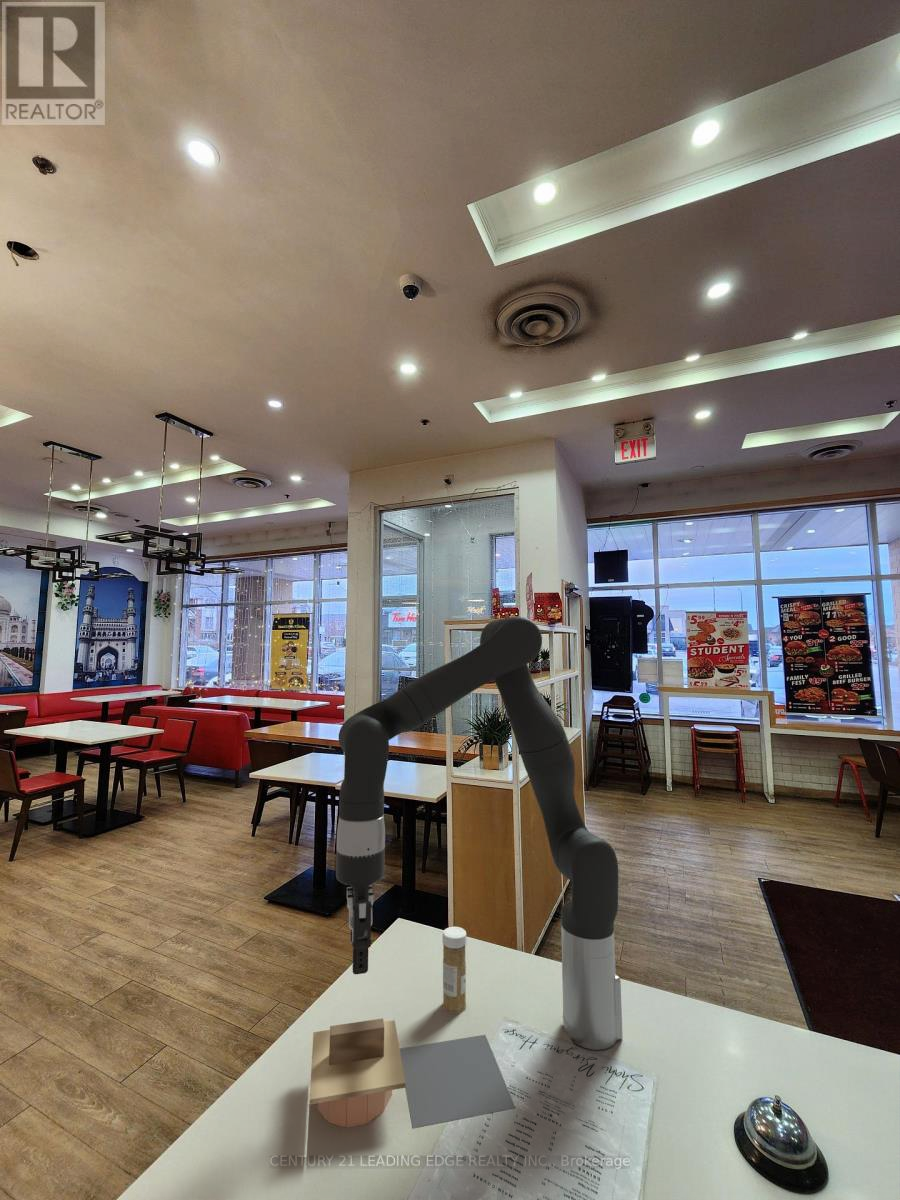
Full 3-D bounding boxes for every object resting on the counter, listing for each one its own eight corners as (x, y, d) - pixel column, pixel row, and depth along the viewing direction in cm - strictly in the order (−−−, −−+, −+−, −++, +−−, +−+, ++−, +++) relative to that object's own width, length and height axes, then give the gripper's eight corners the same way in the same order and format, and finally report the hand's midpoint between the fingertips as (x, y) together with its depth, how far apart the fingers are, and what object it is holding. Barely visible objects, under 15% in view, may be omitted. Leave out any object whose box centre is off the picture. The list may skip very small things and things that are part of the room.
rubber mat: (485, 1037, 88) (485, 1034, 88) (515, 1111, 73) (515, 1107, 73) (398, 1051, 85) (398, 1048, 85) (412, 1132, 70) (412, 1128, 70)
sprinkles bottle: (471, 1011, 95) (471, 933, 96) (450, 1020, 92) (451, 940, 94) (457, 997, 98) (457, 923, 100) (437, 1006, 96) (438, 929, 98)
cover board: (394, 1024, 84) (395, 993, 85) (405, 1087, 71) (405, 1051, 72) (313, 1036, 81) (314, 1004, 82) (309, 1104, 69) (310, 1066, 69)
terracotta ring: (387, 1063, 82) (387, 1029, 83) (395, 1121, 72) (395, 1082, 72) (318, 1075, 80) (320, 1040, 80) (316, 1136, 69) (318, 1095, 70)
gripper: (389, 860, 74) (388, 980, 72) (380, 829, 88) (379, 930, 86) (337, 864, 72) (333, 988, 70) (336, 832, 86) (333, 935, 84)
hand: (358, 956), depth 78 cm, fingers open, 8 cm apart
